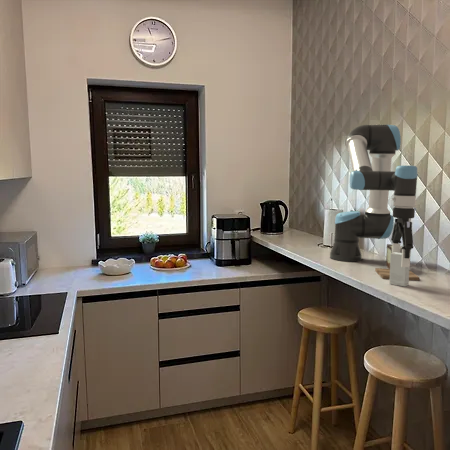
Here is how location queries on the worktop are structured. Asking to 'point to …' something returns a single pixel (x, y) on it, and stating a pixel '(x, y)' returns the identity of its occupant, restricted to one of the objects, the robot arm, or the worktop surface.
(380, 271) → the board
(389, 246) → the food container
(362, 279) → the worktop surface
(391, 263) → the skincare box
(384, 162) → the robot arm
